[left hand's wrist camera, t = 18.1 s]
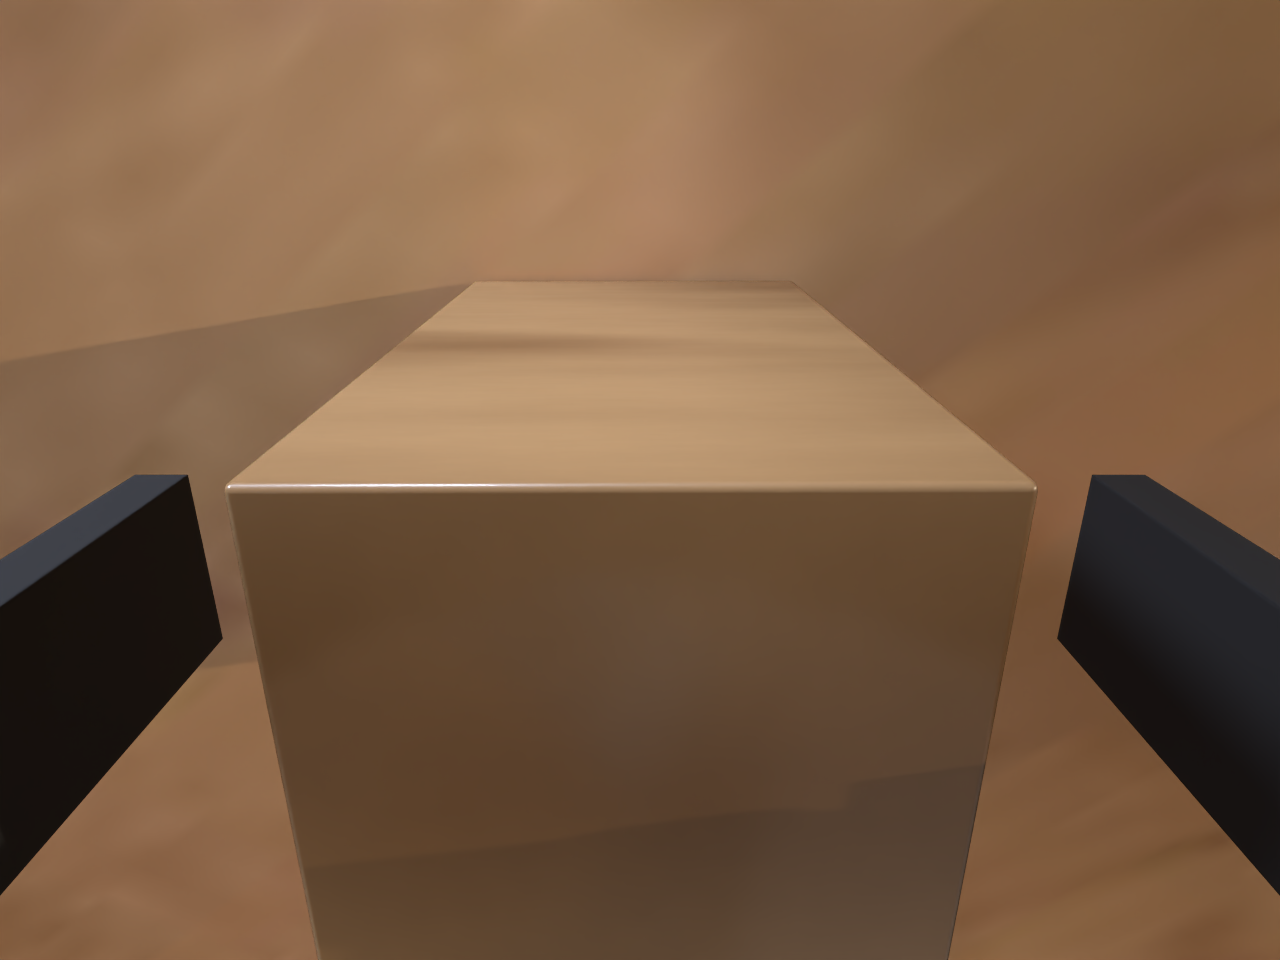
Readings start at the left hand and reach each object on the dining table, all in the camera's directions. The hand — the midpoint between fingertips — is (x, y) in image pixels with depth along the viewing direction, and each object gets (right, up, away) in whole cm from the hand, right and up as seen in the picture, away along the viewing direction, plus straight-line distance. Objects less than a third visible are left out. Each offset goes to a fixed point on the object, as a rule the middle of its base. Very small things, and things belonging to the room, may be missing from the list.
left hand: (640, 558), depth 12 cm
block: (0, +2, +4) cm, 5 cm away
